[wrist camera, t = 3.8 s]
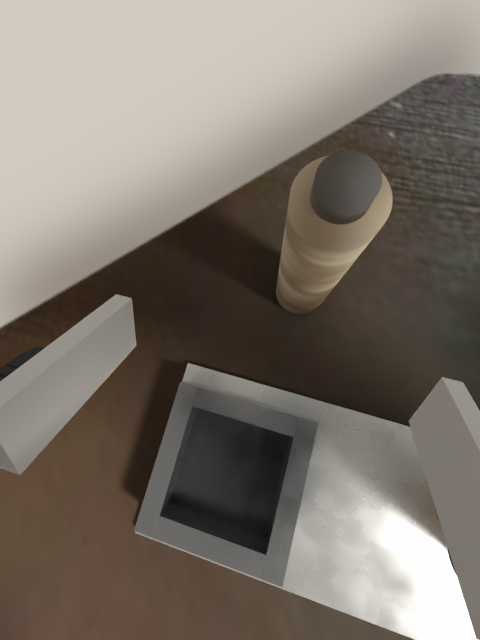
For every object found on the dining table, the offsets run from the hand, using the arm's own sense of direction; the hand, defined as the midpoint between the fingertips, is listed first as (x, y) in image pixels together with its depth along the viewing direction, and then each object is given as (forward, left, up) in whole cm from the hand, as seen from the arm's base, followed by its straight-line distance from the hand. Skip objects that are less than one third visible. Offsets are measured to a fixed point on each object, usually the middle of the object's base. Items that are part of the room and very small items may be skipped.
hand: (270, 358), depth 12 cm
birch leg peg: (-1, -8, -13) cm, 15 cm away
